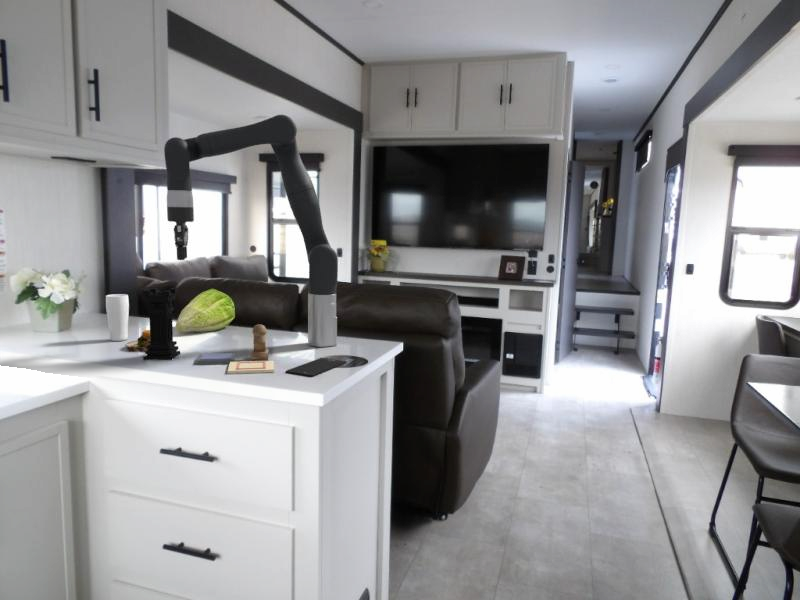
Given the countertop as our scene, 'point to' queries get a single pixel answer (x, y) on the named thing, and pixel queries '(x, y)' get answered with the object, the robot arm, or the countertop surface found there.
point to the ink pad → (216, 358)
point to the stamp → (259, 344)
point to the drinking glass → (117, 316)
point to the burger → (140, 342)
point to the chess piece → (160, 325)
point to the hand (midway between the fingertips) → (182, 259)
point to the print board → (251, 367)
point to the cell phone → (316, 367)
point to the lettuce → (206, 312)
